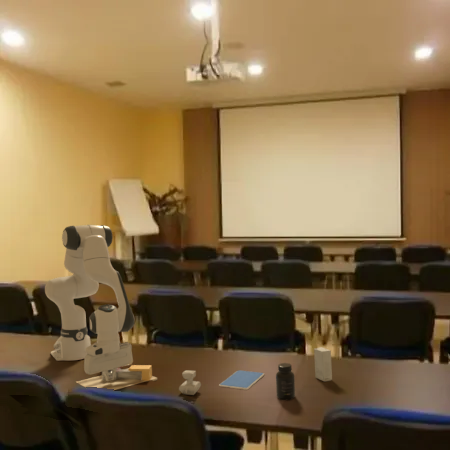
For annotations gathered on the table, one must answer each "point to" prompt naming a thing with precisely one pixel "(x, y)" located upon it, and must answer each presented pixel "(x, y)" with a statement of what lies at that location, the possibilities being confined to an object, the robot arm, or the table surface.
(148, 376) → the block
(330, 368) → the skincare box
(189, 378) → the stamp
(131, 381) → the board
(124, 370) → the link
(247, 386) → the blue notebook
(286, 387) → the supplement bottle
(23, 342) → the table surface
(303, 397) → the table surface
